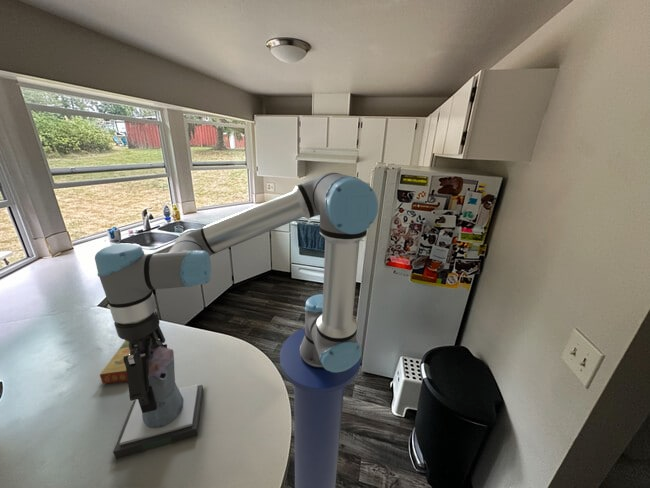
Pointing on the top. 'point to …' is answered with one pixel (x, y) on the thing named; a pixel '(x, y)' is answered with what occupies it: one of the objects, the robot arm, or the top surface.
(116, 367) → the carton
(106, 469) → the top surface
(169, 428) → the kitchen scale
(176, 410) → the moka pot
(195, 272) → the robot arm
